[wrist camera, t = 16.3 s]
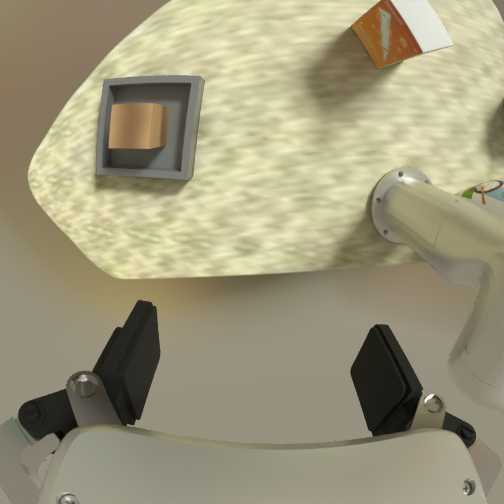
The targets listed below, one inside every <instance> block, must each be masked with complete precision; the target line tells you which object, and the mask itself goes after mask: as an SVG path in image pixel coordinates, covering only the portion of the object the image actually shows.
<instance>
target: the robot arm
mask: <svg viewBox="0 0 504 504" xmlns="http://www.w3.org/2000/svg"><path fill="white" fill-rule="evenodd" d="M398 173H399V174H398ZM377 198H378V199H377ZM376 199H377V200H376ZM371 216H372V220H373V223H374V225H375V227H376V229H377V230H378V232H379V233H380V234H381V235H382V236H383V237H384V238H386V239H387V240H389V241H391V242H393V243H406V244H407V245H408V246H410V247H411V248H412V249H413V250H414V251H415V252H416V253H417V254H419V255H420V256H421V257H422V258H423V259H424V260H425V261H426V262H427V263H429V264H430V265H431V266H432V267H433V268H434V269H435V270H436V271H437V272H438V273H439V274H441V275H442V276H443V277H444V278H445V279H446V280H447V281H448V282H450V283H452V284H453V285H456V286H459V287H472V286H477V285H480V288H479V292H478V295H477V297H476V300H475V302H474V306H473V308H472V310H471V313H470V315H469V317H468V319H467V321H466V323H465V325H464V327H463V329H462V331H461V333H460V335H459V337H458V338H457V340H456V342H455V344H454V346H453V349H452V351H451V353H450V356H449V359H448V374H449V378H450V380H451V382H452V384H453V385H454V387H455V388H456V389H457V390H458V391H459V392H460V393H461V394H462V395H463V396H465V397H466V398H468V399H469V400H471V401H473V402H475V403H477V404H479V405H481V406H484V407H487V408H489V409H492V410H495V411H498V412H500V413H503V414H504V219H503V218H501V217H499V216H497V215H495V214H492V213H490V212H488V211H486V210H484V209H482V208H480V207H478V206H476V205H474V204H472V203H470V202H468V201H466V200H464V199H461V198H459V197H457V196H455V195H453V194H450V193H448V192H446V191H443V190H441V189H439V188H436V187H434V186H433V185H432V183H431V181H430V180H429V178H428V177H427V176H426V175H425V174H424V173H422V172H421V171H419V170H417V169H414V168H410V167H401V168H397V169H394V170H392V171H390V172H389V173H387V174H386V175H385V176H384V177H383V178H382V179H381V180H380V182H379V183H378V185H377V186H376V189H375V191H374V193H373V197H372V201H371ZM159 359H160V344H159V333H158V321H157V309H156V306H153V305H152V303H151V302H148V301H142V300H139V301H137V303H136V305H135V307H134V308H133V310H132V312H131V314H130V316H129V317H128V319H127V321H126V322H125V324H124V326H123V328H121V327H117V328H116V329H115V330H114V332H113V335H112V336H111V337H110V339H109V341H108V343H107V345H106V346H105V348H104V350H103V352H102V354H101V356H100V357H99V359H98V361H97V363H96V365H95V367H94V369H93V371H92V372H90V371H79V372H77V373H74V374H73V375H72V376H70V378H69V379H68V381H67V384H66V389H64V390H61V391H58V392H55V393H52V394H49V395H46V396H43V397H39V398H36V399H33V400H30V401H28V402H26V403H24V404H23V405H22V406H21V408H20V409H19V413H18V417H17V418H16V419H14V418H13V417H12V418H10V419H9V420H7V421H6V422H4V423H3V424H2V425H1V426H0V486H1V487H2V489H3V490H4V492H5V494H6V495H7V497H8V498H9V499H10V501H11V502H12V504H487V501H486V496H487V494H488V492H489V490H490V489H491V487H492V485H493V483H494V481H495V480H496V478H497V476H498V474H499V472H500V470H501V460H500V458H499V457H498V456H497V455H496V454H495V453H494V452H493V451H492V450H491V449H490V448H489V447H488V446H487V445H485V444H484V443H483V442H482V441H481V440H480V439H477V440H476V432H475V430H474V428H473V427H472V426H471V425H470V424H468V423H467V422H465V421H463V420H461V419H459V418H457V417H455V416H453V415H451V414H449V413H447V412H446V404H445V401H444V400H443V398H442V397H441V396H440V395H438V394H437V393H434V392H426V393H424V394H422V392H421V391H422V390H423V388H422V386H421V384H420V382H419V380H418V378H417V376H416V374H415V372H414V370H413V368H412V367H411V365H410V363H409V361H408V359H407V357H406V356H405V354H404V352H403V350H402V349H401V347H400V345H399V343H398V341H397V340H396V338H395V336H394V334H393V333H392V331H391V329H390V328H389V326H388V325H383V324H378V325H377V324H376V325H375V326H374V327H372V328H371V329H370V331H369V333H368V335H367V337H366V339H365V341H364V343H363V346H362V347H361V349H360V351H359V353H358V355H357V358H356V359H355V361H354V363H353V365H352V367H351V371H350V372H351V377H352V380H353V383H354V386H355V389H356V392H357V395H358V398H359V401H360V404H361V408H362V411H363V414H364V417H365V420H366V424H367V427H368V429H369V431H371V432H372V435H373V437H368V438H361V439H353V440H344V441H334V442H322V443H303V444H302V443H301V444H261V443H240V442H226V441H217V440H208V439H200V438H193V437H186V436H179V435H173V434H167V433H162V432H157V431H152V430H146V429H141V428H136V427H129V426H127V424H130V425H134V424H135V421H136V419H137V420H140V418H141V415H142V412H143V408H144V405H145V402H146V399H147V396H148V392H149V389H150V386H151V383H152V380H153V377H154V374H155V371H156V368H157V365H158V362H159ZM49 454H54V455H53V457H52V459H51V462H50V464H49V466H48V469H47V472H46V475H45V477H44V480H43V483H42V482H41V480H40V478H39V477H38V468H39V466H40V465H41V463H43V462H44V461H45V460H46V459H45V457H46V456H48V455H49Z"/></svg>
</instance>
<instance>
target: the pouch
mask: <svg viewBox="0 0 504 504" xmlns="http://www.w3.org/2000/svg"><path fill="white" fill-rule="evenodd" d="M457 197H459V198H461V199H464V200H466V201H468V202H470V203H472V204H474V205H476V206H478V207H480V208H482V209H484V210H486V211H488V212H490V213H492V214H495V215H497V216H499V217H501V218H503V219H504V178H500V179H495V180H492V181H489V182H485V183H482V184H480V185H477V186H475V187H472V188H470V189H468V190H466V191H464V192H462V193H460V194H458V195H457Z"/></svg>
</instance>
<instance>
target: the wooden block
mask: <svg viewBox="0 0 504 504" xmlns="http://www.w3.org/2000/svg"><path fill="white" fill-rule="evenodd" d="M169 113H170V107H167V106H163V105H159V104H155V103H135V104H115V105H112V111H111V121H110V133H109V148H133V149H151V148H156V147H161V146H166V142H167V131H168V122H169Z"/></svg>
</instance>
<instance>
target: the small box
mask: <svg viewBox="0 0 504 504" xmlns="http://www.w3.org/2000/svg"><path fill="white" fill-rule="evenodd" d="M351 28H352V29H353V31H354V32H355V33H356V35H357V36H358V38H359V39H360V41H361V42H362V44H363V45H364V47H365V49H366V50H367V52H368V54H369V55H370V57H371V59H372V60H373V62H374V64H375V66H376V67H377V69H381V68H383V67H386V66H389V65H392V64H395V63H398V62H401V61H404V60H407V59H410V58H413V57H416V56H419V55H422V54H426V53H429V52H432V51H436V50H439V49H443V48H447V47H451V46H454V44H453V42H452V40H451V38H450V37H449V35H448V33H447V31H446V29H445V28H444V26H443V24H442V22H441V20H440V18H439V17H438V15H437V14H436V12H435V11H434V9H433V8H432V7H431V5H430V4H429V2H428V1H427V0H381V1H379V2H378V3H377V4H376V5H374V6H373V7H372V8H371V9H370V10H369V11H367V12H366V13H365V14H364V15H363V16H361V17H360V18H359V19H358V20H357V21H356V22H355V23H354V24H353V25H351Z"/></svg>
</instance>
